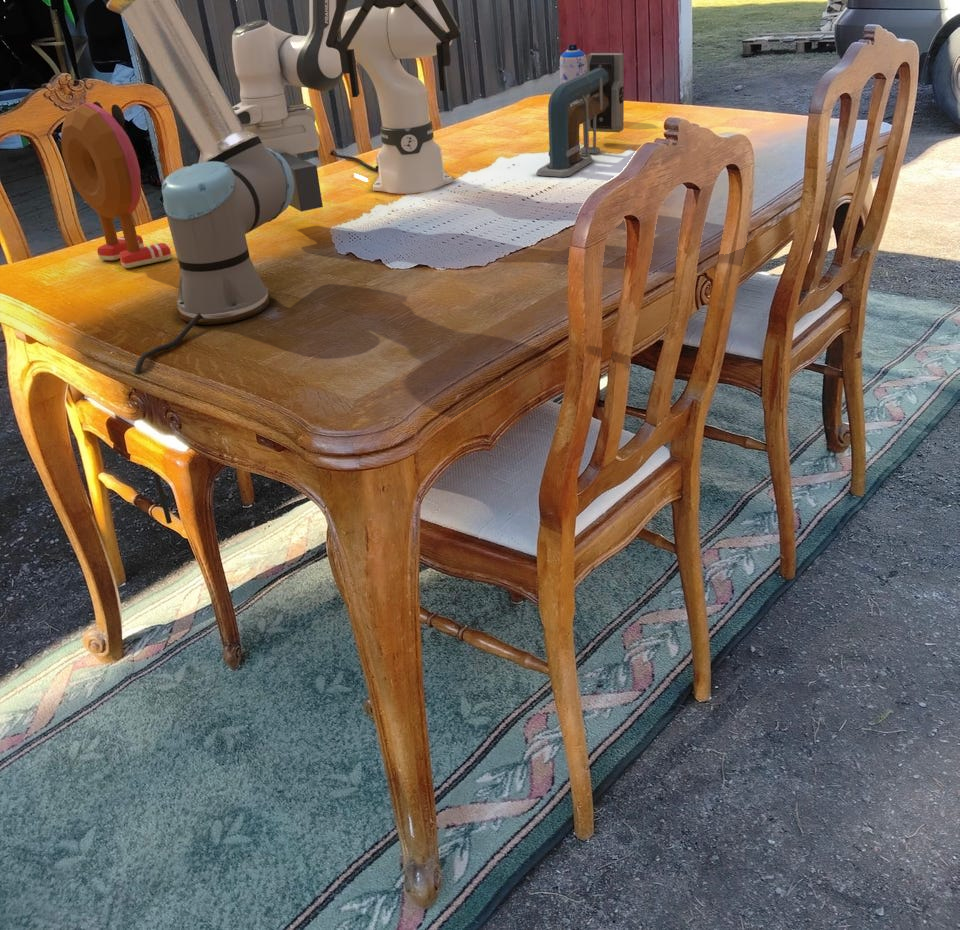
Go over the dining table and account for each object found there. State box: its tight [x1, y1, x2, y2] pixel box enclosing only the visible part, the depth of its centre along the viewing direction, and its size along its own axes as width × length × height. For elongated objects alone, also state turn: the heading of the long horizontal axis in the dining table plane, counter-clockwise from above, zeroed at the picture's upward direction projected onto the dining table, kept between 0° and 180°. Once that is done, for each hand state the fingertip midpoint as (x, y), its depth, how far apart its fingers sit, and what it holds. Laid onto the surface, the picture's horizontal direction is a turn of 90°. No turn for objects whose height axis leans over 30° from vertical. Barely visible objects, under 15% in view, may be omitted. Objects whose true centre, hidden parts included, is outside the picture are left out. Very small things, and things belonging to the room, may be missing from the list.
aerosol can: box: [559, 43, 587, 107], centre depth 273 cm, size 8×8×20 cm
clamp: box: [535, 52, 625, 178], centre depth 233 cm, size 35×9×21 cm, turn 151°
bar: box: [280, 153, 324, 212], centre depth 196 cm, size 23×5×8 cm, turn 30°
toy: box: [60, 101, 172, 269], centre depth 187 cm, size 21×10×30 cm, turn 47°
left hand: (399, 92), depth 149 cm, fingers open, 13 cm apart
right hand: (276, 179), depth 202 cm, fingers closed on bar, 4 cm apart
